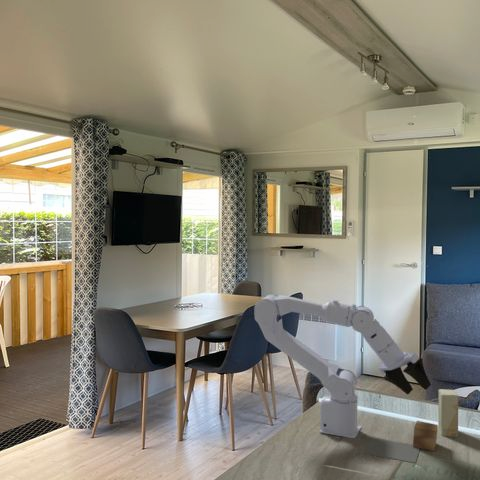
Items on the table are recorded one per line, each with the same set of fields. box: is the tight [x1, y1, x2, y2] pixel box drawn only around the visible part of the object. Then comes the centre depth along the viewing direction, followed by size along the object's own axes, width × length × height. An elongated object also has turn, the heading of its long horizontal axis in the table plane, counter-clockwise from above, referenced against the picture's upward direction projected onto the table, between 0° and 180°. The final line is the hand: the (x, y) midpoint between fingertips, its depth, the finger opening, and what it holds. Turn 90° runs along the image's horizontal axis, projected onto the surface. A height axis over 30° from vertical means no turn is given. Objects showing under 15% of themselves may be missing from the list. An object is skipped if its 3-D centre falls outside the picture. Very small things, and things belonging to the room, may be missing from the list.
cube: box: [412, 420, 438, 452], centre depth 136 cm, size 5×5×5 cm
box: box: [437, 388, 459, 438], centre depth 144 cm, size 5×4×11 cm
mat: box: [363, 437, 421, 464], centre depth 133 cm, size 12×10×1 cm
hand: (418, 389), depth 140 cm, fingers open, 7 cm apart
